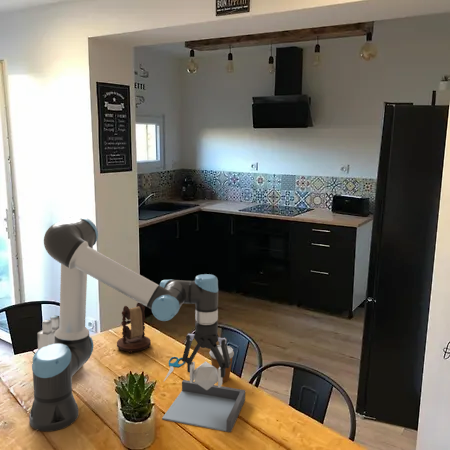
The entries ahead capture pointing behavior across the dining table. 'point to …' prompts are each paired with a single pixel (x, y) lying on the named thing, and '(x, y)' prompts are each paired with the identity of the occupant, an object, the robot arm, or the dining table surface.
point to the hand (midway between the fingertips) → (206, 383)
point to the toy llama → (48, 331)
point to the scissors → (173, 365)
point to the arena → (207, 406)
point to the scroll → (133, 330)
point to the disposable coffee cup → (215, 363)
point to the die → (206, 375)
